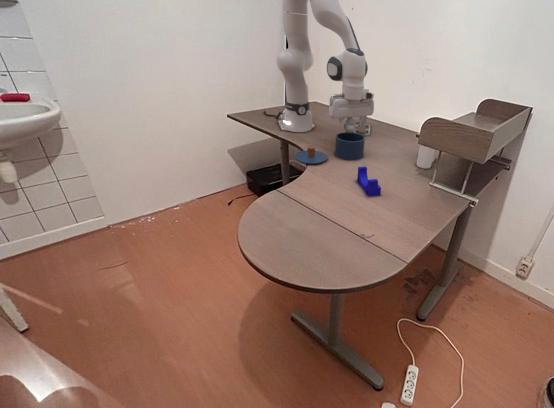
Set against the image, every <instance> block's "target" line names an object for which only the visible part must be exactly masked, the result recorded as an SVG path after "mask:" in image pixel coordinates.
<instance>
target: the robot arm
mask: <svg viewBox="0 0 554 408" xmlns="http://www.w3.org/2000/svg"><path fill="white" fill-rule="evenodd" d="M309 3H310V8H311V12H312V15H313V17H314V19H315V20H316V21H315V22H317V23H318V24H319V25H320V26H322V27H323V28H325V29H328V30H330V31H332V32H334V33H335V34H336V35H338V36H339V37H340V39H341V40H342V43H343V46H344V49H345V50H344V52H342V53H339V54H337V55H333V56H330V57H329V59H328V61H327V64H326V74H327V76H328V77H329V79H330V80H332V81H334V82H342V85H341V88H342V89H341V91H342V92H341V93H338V94H337V93H334V94H332V95H331V96H330V97H329V107H328V115H329V117H331V118H332V119H338V121H339V123H340V128H342V129H343V128H346V122H345V118H346V119H347V118H348V117H352V118H357V117H358V119H357V121H355V124H357V125H358V126H360V125H361V121H362V120H363V117H364V116H367V117H368V116H369V117H370V116H372V115H373V114H374V111H375V110H374V109H375V101H374V97H375V93H373V92H371V91H370V90H369V91H367V90H365V89H366V88H365V81H364V80H365V78H366V76H367V73H368V70H369V69H368V67H369V66H368V62H367V60H366V55H365V53H364V51H363V50H361V48H360V46H359V41H358V39H357V36H356V34H355V33H356V32H355V30H354V28H353V26H352V23H351V21H350V19H349V18H348V16H347V15H346V14H345V12H344V10H343V8H342V6H341V4H340V2H339V0H282V24H283V25H282V27H283V29H282V30H283V33H284V35H285V37H286V40H287V44H288V48H285V49H283V50H281V51H280V52H278V54H277V56H276V66H277V68H278V69H279V71H280V72H281V74H282V77H283V81H284V85H285V93H286V96H285V97H286V101H285V105H284V106H285V109H284V110H281V111H278V113H277V114H270V113H269V114H268V113H266V112H267V111H266V110H264V111H263V114H264V115H265V116H268V117H275V118H276V119H277V120H278V119H279V120H278V121H277V122H278V125H279V128H280V130H281V131H286V132H291V133H306V132H310V131H312V130H313V129H314V128H315V127H316V126H315V124H313V112H312V111H310V101H309V85H308V84H307V82H306V79H305V72H307V71H309V70H310V69H311V68H312V67H313V65H314V63H315V57H314V54H313V52H312V50H311V45H310V39H309V38H310V37H309V10H308V9H309V7H308V4H309Z"/></svg>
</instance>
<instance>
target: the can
mask: <svg viewBox="0 0 554 408" xmlns="http://www.w3.org/2000/svg"><path fill="white" fill-rule="evenodd" d="M434 151H435V150H434V149H431V148H428V147H424V146H421V145H420V144H419V149H418V154H417V159H416V167H418V168H419V169H422V170H429V169H430V168H431V167H432V165H433V162H432V160H433V155H434Z"/></svg>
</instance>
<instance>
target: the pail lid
mask: <svg viewBox="0 0 554 408" xmlns="http://www.w3.org/2000/svg"><path fill="white" fill-rule="evenodd" d="M294 159H295V160H296V162H298V163H301V164H305V165H317V164H322V163H325V162H326V161H328V155H327V154H326V153H325V152H323V151H320V150H316V147H315V146H312V145H310V146H307V149H306V150H302V151H298V152H297V153H295V155H294Z"/></svg>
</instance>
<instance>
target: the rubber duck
mask: <svg viewBox="0 0 554 408" xmlns="http://www.w3.org/2000/svg"><path fill="white" fill-rule="evenodd" d="M344 123H345V124H346V128H342V129H343V131H344V132H346V133H352V132H353V133H354V131H356V132H358V131H357V130H358V125H357V124H356V123H355V119H354V118H353V117H346V119H345V120H344Z"/></svg>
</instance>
